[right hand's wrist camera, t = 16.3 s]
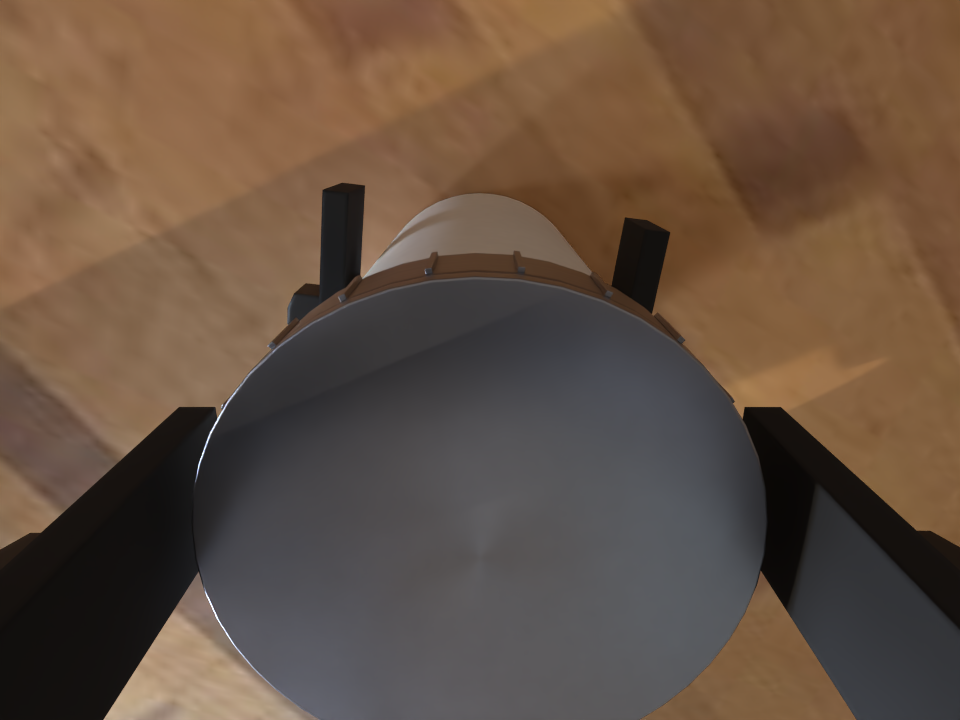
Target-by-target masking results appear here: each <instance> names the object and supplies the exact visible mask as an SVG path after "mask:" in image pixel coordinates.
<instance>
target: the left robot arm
mask: <svg viewBox="0 0 960 720" xmlns="http://www.w3.org/2000/svg"><path fill="white" fill-rule="evenodd" d="M364 194H365V186H364V185H356V184H348V183H340V184H338V185H335V186H332V187H329V188H326V189H324V190H323V193H322V227H321V260H320V285H316V284H307V283H306V284H305V285H303V286H302V287H301V288H300V289H299V290H298V291H296V292H295V293H294V295H293V297H292V299H291V302H290V304H289V306H288V320H287V324H288V325H289V324H290V323H291V322H292V321H293V320H294V319H295V318H297V319H299V320H301V319H303V318H304V317H305V316H306V315H307V314H308V313H309V312H310V311H311V310H313V309H314V308H316V307H317V306H318V305H320V304H321V303H323V302H324V301H325V300H327V299H328V298H330V297H331V296H333V295H334V294H335V293H337V292H338V291H340V290H342V289H344V288H346V287H347V286H348V285H349V283H350V282H351V281H352V280H353V279H354V278H355V277H356V276H358V275H360V269H361V250H362V231H363V212H364ZM669 235H670V232H668V231H666V230H665V229H663V228H661V227H659V226H657V225H655V224H653V223H651V222H649V221H647V220H640V219H632V218H625V220H624V225H623V231H622V236H621V241H620V246H619V251H618V256H617V261H616V266H615V271H614V276H613V281H612V287H614V288H616V289H617V290H619V291H620V292H622V293H623V294H625V295H626V296H628V297H629V298H631V299H632V300H634V301H635V302H637V303H638V304H640V305H641V306H643V307H644V308H645V309H647V310H648V311H649V312H650V313H651V314H652V311H653V306H654V302H655V298H656V293H657V289H658V284H659V280H660V275H661V271H662V266H663V262H664V258H665V253H666V249H667V244H668V240H669Z"/></svg>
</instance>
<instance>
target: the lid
mask: <svg viewBox="0 0 960 720" xmlns="http://www.w3.org/2000/svg"><path fill="white" fill-rule="evenodd" d="M684 341H685V339H684V338H683V337H682V336H681V335H680V334H679V333H678V332H677V331H676V330H675V329H674V328H673V327H672V326H671V325H670V324H669V323H668V322H667V321H666V320H665V319H664V318H663V317H662V316H661V315H660V314H659V313H656V314H655V315H654V316H653V315H652V314H651V313H650V312H649V311H648V310H647V309H645V308H644V307H643V306H641V305H640V304H638V303H637V302H635V301H634V300H632V299H631V298H629V297H628V296H626V295H625V294H623V293H622V292H620V291H619V290H617V289H616V288H614V287H612V286H610V285H608V284H606V283H604V281H603V280H602V279H601V278H600V277H599V275H598V274H597V273H594V272H592V273H591V275H590V276H589V275H587V274H585V273H583V272H580V271H577V270H574V269H570V268H567V267H564V266H561V265H558V264H555V263H552V262H549V261H544V260H538V259H533V258H527V257H522V256H521V253H520V251H514V252H513V255H507V254H487V253H468V254H456V255H443V256H438V252H432V253H431V255H430V257H429V258H426V259H422V260H417V261H412V262H408V263H403V264H400V265H397V266H394V267H392V268H389V269H386V270H383V271H380V272H378V273H375V274H372V275H369V276H367V277H365V278H363V279H362V277H361V276H360V275H358V276H356V277H355V278H354V279H353V280H352V281H351V282H350V283H349V285H348V286H347V287H346V288H344V289H342V290H340V291H338V292H337V293H335V294H334V295H333V296H331V297H330V298H328V299H327V300H325V301H324V302H323V303H321V304H320V305H318V306H317V307H316V308H314V309H313V310H311V311H310V312H309V313H308V314H307V315H306V316H305V317H304V318H303V319H301V320H299V319H297V318H295V319H294V320H293V321H292V322H291V323H290V324H289V325H288V326H287V327H286V328H285V329H284V330H283V331H282V332H281V333H280V334H279V335H278V336H277V337H276V338H275V339H274V340H273V341H272V342H271V343H270V344H269V345H268V346H269V347H270V348H271V350H270V351H269V352H268V353H267V354H266V355H265V356H264V358H263V359H262V360H261V361H260V362H259V363H258V364H257V365H256V366H255V367H254V368H253V369H252V370H251V371H250V372H249V373H248V375H247V376H246V377H245V379H244V380H243V381H242V382H241V384H240V385H239V386H238V388H237V389H236V390H235V392H234V393H233V394H232V395H231V396H230V397H229V398H228V399H227V400H226V402H225V403H224V404H223V405H222V407H221V409H223V410H222V411H221V413H220V415H219V417H218V419H217V420H216V422H215V424H214V426H213V428H212V429H211V431H210V434H209V437H208V439H207V442H206V445H205V448H204V450H203V453H202V456H201V459H200V462H199V465H198V470H197V475H196V481H195V486H194V491H193V500H192V535H193V543H194V551H195V558H196V563H197V567H198V570H199V574H200V577H201V580H202V584H203V587H204V591H205V593H206V595H207V597H208V600H209V602H210V604H211V606H212V608H213V611H214V613H215V615H216V617H217V619H218V621H219V622H220V624H221V625H222V627H223V629H224V630H225V632H226V633H227V635H228V637H229V638H230V640H231V641H232V643H233V644H234V646H235V647H236V648H237V649H238V651H239V652H240V653H241V654H242V655H243V657H244V658H245V659H246V660H247V661H248V663H249V664H250V665H251V666H252V667H253V669H254V670H255V671H257V672H258V673H259V674H260V675H261V676H262V677H263V678H264V679H265V680H266V681H267V682H268V683H269V684H270V685H271V686H273V687H274V688H275V689H276V690H277V691H278V692H280V693H281V694H282V695H284V696H285V697H286V698H288V699H289V700H290V701H292V702H293V703H294V704H296V705H297V706H298V707H300V708H301V709H303V710H304V711H306V712H308V713H310V714H311V715H313V716H315V717H316V718H318V719H320V720H640V719H641V718H643V717H645V716H646V715H648V714H650V713H651V712H653V711H654V710H656V709H658V708H659V707H661V706H663V705H664V704H665V703H667V702H668V701H669V700H670V699H672V698H673V697H674V696H676V695H677V694H678V693H679V692H681V691H682V690H683V689H684V688H686V687H687V686H688V685H689V684H690V683H691V682H692V681H693V680H694V679H695V678H696V677H697V676H698V675H699V674H700V673H701V672H702V671H703V670H704V669H705V668H706V667H707V666H708V665H709V664H710V663H711V662H712V661H713V660H714V658H715V657H716V656H717V654H718V653H719V652H720V651H721V649H722V648H723V647H724V646H725V644H726V643H727V642H728V641H729V639H730V637H731V636H732V634H733V632H734V631H735V629H736V627H737V626H738V624H739V622H740V621H741V619H742V617H743V616H744V614H745V612H746V609H747V607H748V605H749V602H750V600H751V598H752V595H753V593H754V590H755V588H756V586H757V582H758V578H759V575H760V571H761V567H762V563H763V559H764V555H765V546H766V536H767V525H768V518H767V501H766V488H765V484H764V479H763V475H762V470H761V466H760V461H759V457H758V454H757V452H756V449H755V447H754V444H753V442H752V439H751V437H750V434H749V432H748V429H747V427H746V425H745V423H744V421H743V420H742V418H741V416H740V414H739V413H738V411H737V409H736V408H735V406H734V404H733V403H734V402H735V401H734V399H733V398H732V396H731V395H730V394H729V393H728V392H727V391H726V390H725V389H724V388H723V387H722V386H721V385H720V384H719V383H718V382H717V381H716V380H715V379H714V377H713V376H712V375H711V374H710V373H709V371H708V370H707V369H706V368H705V367H704V365H703V364H702V363H701V362H700V361H699V360H698V359H697V358H696V357H695V356H694V355H693V354H692V353H691V352H690V351H689V350H688V349H687V348H686V347H685V346H684V345H683V344H682V343H683V342H684Z"/></svg>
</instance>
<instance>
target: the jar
mask: <svg viewBox="0 0 960 720" xmlns="http://www.w3.org/2000/svg"><path fill="white" fill-rule="evenodd" d="M514 251H520V253H521V256H522V257H527V258H533V259H538V260H544V261H549V262H552V263H555V264H558V265H561V266H564V267H567V268H570V269H574V270H577V271H580V272H583V273H585V274H587V275H589V276H590V275H591V273H592V272H591V270H590V269H589V268H588V267H587V265H586V264H585V263H584V262H583V260H582V259H581V258H580V257H579V255H578V254H577V253H576V252H575V251H574V249H573V248H572V247H571V246H570V244H569V243H568V242H567V241H566V239H565V238H564V237H563V236H562V234H561V233H560V232H559V231H558V230H557V228H556V227H555V226H554V225H553V224H552V223H551V222H550V221H549V220H548V219H547V218H546V217H545V216H544V215H542V214H541V213H539V212H538V211H536V210H535V209H534V208H532V207H530V206H528V205H526V204H524V203H522V202H520V201H518V200H515V199H512V198H509V197H506V196H501V195H496V194H485V193H474V194H464V195H459V196H454V197H451V198H448V199H445V200H442V201H439V202H437V203H435V204H433V205H431V206H430V207H428V208H426V209H425V210H423V211H422V212H420V213H419V214H417V215H416V216H415V217H414V218H413V219H412V220H411V221H410V222H408V223H407V224H406V225H405V227H404V228H403V229H402V230H401V232H400V233H399V234H398V235H397V236H396V238H395V239H394V240H393V241H392V243H391V244H390V245H389V246H388V248H387V249H386V250H385V251H384V253H383V254H382V255H381V256H380V257H379V259H378V260H377V261H376V262H375V264H374V265H373V266H372V267H371V269H370V270H369V271H368V272H367V274H366V275H365V276H364V277H363V278H365V277H367V276H369V275H372V274H375V273H378V272H380V271H383V270H386V269H389V268H392V267H394V266H397V265H400V264H403V263H408V262H412V261H417V260H422V259H426V258H429V257H430V255H431V253H432V252H438V256H443V255H456V254H468V253H487V254H507V255H513V252H514ZM363 278H362V279H363Z"/></svg>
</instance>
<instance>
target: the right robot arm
mask: <svg viewBox="0 0 960 720" xmlns="http://www.w3.org/2000/svg"><path fill="white" fill-rule="evenodd" d="M216 420H217V415H216V409H215V407H179V408H178V409H177V410H176V411H174V412H173V413H172V414H171V415H170V416H169V417H168V418H167V419H166V420H165V421H163V422H162V423H161V424H160V425H159V426H158V427H157V428H156V429H155V430H154V431H152V432H151V433H150V434H149V435H148V436H147V437H146V438H145V439H144V440H143V441H141V442H140V443H139V444H138V445H137V446H136V447H135V448H134V449H133V450H132V451H130V452H129V453H128V454H127V455H126V456H125V457H124V458H123V459H122V460H121V461H120V462H118V463H117V464H116V465H115V466H114V467H113V468H112V469H111V470H110V471H109V472H107V473H106V474H105V475H104V476H103V477H102V478H101V479H100V480H99V481H98V482H96V483H95V484H94V485H93V486H92V487H91V488H90V489H89V490H88V491H87V492H85V493H84V494H83V495H82V496H81V497H80V498H79V499H78V500H77V501H76V502H74V503H73V504H72V505H71V506H70V507H69V508H68V509H67V510H66V511H65V512H64V513H62V514H61V515H60V516H59V517H58V518H57V519H56V520H55V521H54V522H53V523H51V524H50V525H49V526H48V527H47V528H46V529H45V530H44V531H43V532H42V533H29V534H28V535H26V536H24V537H22V538H20V539H19V540H17V541H15V542H13V543H12V544H10V545H8V546H6V547H4V548H3V549H1V550H0V720H103V719H104V718H105V716H106V715H107V713H108V712H109V710H110V708H111V707H112V705H113V704H114V702H115V701H116V699H117V698H118V696H119V694H120V693H121V691H122V690H123V688H124V687H125V685H126V684H127V682H128V680H129V679H130V677H131V676H132V674H133V673H134V671H135V670H136V668H137V666H138V665H139V663H140V662H141V660H142V659H143V657H144V656H145V654H146V652H147V651H148V649H149V648H150V646H151V645H152V643H153V642H154V640H155V638H156V637H157V635H158V634H159V632H160V631H161V629H162V628H163V626H164V624H165V623H166V621H167V620H168V618H169V617H170V615H171V613H172V612H173V610H174V609H175V607H176V606H177V604H178V603H179V601H180V599H181V598H182V596H183V595H184V593H185V592H186V590H187V589H188V587H189V585H190V584H191V582H192V581H193V579H194V578H195V576H196V575H197V573H198V571H199V570H198V567H197V563H196V558H195V551H194V543H193V535H192V500H193V491H194V486H195V481H196V475H197V470H198V465H199V462H200V459H201V456H202V453H203V450H204V448H205V445H206V442H207V439H208V437H209V434H210V431H211V429H212V428H213V426H214V424H215V422H216ZM743 421H744V423H745V425H746V427H747V429H748V432H749V434H750V437H751V439H752V442H753V444H754V447H755V449H756V452H757V454H758V457H759V461H760V466H761V470H762V475H763V479H764V484H765V488H766V501H767V518H768V525H767V536H766V546H765V555H764V559H763V563H762V567H761V571H762V573H763V575H764V576H765V578H766V579H767V581H768V582H769V584H770V585H771V587H772V589H773V590H774V592H775V593H776V595H777V596H778V598H779V599H780V601H781V603H782V604H783V606H784V607H785V609H786V610H787V612H788V613H789V615H790V617H791V618H792V620H793V621H794V623H795V624H796V626H797V628H798V629H799V631H800V632H801V634H802V635H803V637H804V638H805V640H806V642H807V643H808V645H809V646H810V648H811V649H812V651H813V652H814V654H815V656H816V657H817V659H818V660H819V662H820V663H821V665H822V666H823V668H824V670H825V671H826V673H827V674H828V676H829V677H830V679H831V680H832V682H833V684H834V685H835V687H836V688H837V690H838V691H839V693H840V694H841V696H842V698H843V699H844V701H845V702H846V704H847V705H848V707H849V708H850V710H851V712H852V713H853V715H854V716H855V718H856V719H857V720H960V547H958V546H957V545H955V544H953V543H951V542H949V541H948V540H946V539H944V538H942V537H940V536H939V535H937V534H935V533H933V532H931V531H916V530H915V529H914V528H913V527H912V526H911V525H910V524H909V523H907V522H906V521H905V520H904V519H903V518H902V517H901V516H900V515H899V514H898V513H896V512H895V511H894V510H893V509H892V508H891V507H890V506H889V505H888V504H887V503H886V502H884V501H883V500H882V499H881V498H880V497H879V496H878V495H877V494H876V493H875V492H873V491H872V490H871V489H870V488H869V487H868V486H867V485H866V484H865V483H864V482H862V481H861V480H860V479H859V478H858V477H857V476H856V475H855V474H854V473H853V472H851V471H850V470H849V469H848V468H847V467H846V466H845V465H844V464H843V463H842V462H840V461H839V460H838V459H837V458H836V457H835V456H834V455H833V454H832V453H831V452H830V451H828V450H827V449H826V448H825V447H824V446H823V445H822V444H821V443H820V442H819V441H817V440H816V439H815V438H814V437H813V436H812V435H811V434H810V433H809V432H808V431H806V430H805V429H804V428H803V427H802V426H801V425H800V424H799V423H798V422H797V421H795V420H794V419H793V418H792V417H791V416H790V415H789V414H788V413H787V412H786V411H784V410H783V409H782V408H781V407H745V409H744V415H743Z"/></svg>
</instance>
